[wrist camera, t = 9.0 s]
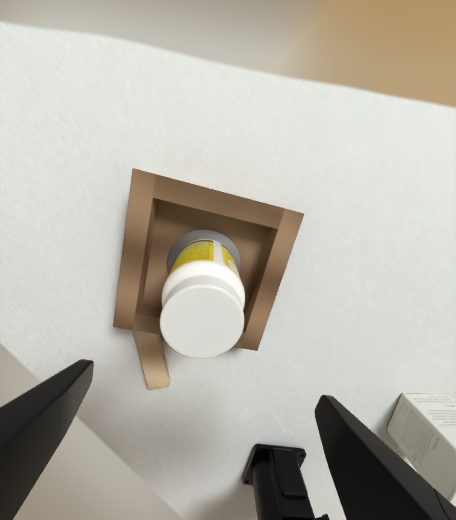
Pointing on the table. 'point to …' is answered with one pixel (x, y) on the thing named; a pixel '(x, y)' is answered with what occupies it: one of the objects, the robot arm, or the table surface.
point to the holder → (194, 228)
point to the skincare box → (428, 438)
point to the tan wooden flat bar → (152, 359)
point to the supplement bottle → (203, 301)
